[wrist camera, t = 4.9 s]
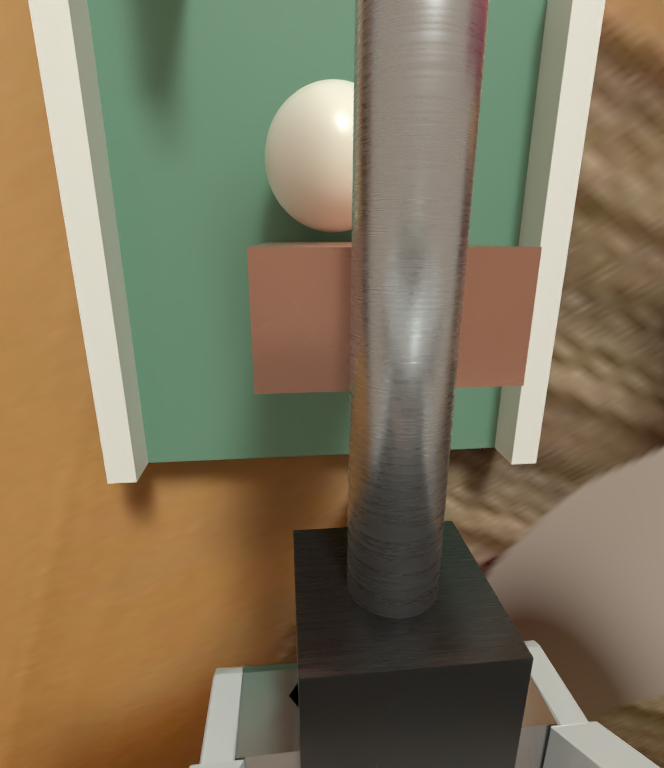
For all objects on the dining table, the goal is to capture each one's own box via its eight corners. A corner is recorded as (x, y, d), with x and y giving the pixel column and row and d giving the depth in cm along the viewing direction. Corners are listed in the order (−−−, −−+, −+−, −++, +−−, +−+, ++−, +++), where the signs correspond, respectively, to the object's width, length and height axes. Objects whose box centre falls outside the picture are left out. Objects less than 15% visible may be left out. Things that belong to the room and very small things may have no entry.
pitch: (501, 432, 21) (574, 497, 16) (133, 447, 19) (78, 525, 14) (582, -230, 14) (757, -504, 9) (29, -288, 13) (-150, -659, 7)
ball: (384, 233, 16) (414, 232, 12) (269, 233, 16) (264, 231, 12) (388, 104, 15) (424, 58, 11) (264, 100, 15) (257, 52, 11)
